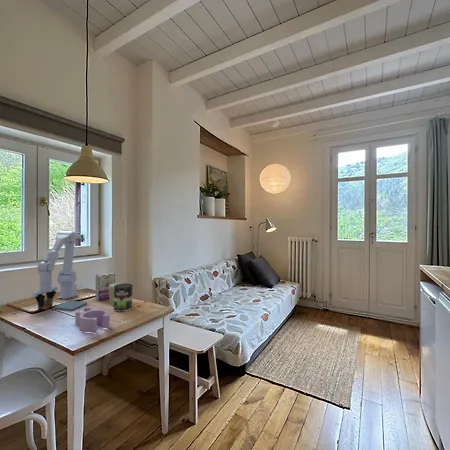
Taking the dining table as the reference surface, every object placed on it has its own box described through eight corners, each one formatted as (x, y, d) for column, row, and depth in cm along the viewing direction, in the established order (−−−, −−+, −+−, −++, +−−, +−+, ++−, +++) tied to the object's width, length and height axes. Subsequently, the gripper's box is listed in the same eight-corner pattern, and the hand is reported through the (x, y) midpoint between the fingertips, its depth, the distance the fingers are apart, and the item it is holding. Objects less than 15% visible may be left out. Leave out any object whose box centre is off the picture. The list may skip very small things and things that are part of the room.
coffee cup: (127, 303, 161) (127, 284, 161) (113, 307, 153) (114, 287, 153) (118, 300, 166) (119, 282, 166) (105, 304, 159) (105, 284, 158)
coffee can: (130, 311, 147) (131, 287, 147) (111, 312, 145) (112, 288, 145) (133, 305, 157) (134, 283, 157) (115, 306, 155) (116, 283, 155)
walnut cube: (45, 306, 151) (45, 297, 151) (52, 306, 150) (52, 298, 150) (37, 308, 146) (37, 300, 146) (45, 309, 145) (45, 301, 145)
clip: (68, 325, 127) (68, 311, 127) (92, 317, 137) (93, 305, 137) (88, 336, 116) (89, 321, 116) (114, 327, 126) (114, 313, 126)
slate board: (70, 302, 159) (70, 300, 159) (87, 304, 157) (87, 302, 157) (54, 309, 147) (54, 307, 147) (72, 311, 145) (72, 309, 145)
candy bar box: (111, 295, 175) (111, 272, 175) (115, 297, 172) (115, 273, 172) (94, 299, 166) (95, 274, 166) (98, 301, 163) (99, 276, 163)
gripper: (40, 286, 140) (39, 310, 141) (61, 279, 154) (61, 302, 155) (29, 284, 141) (29, 309, 142) (51, 279, 156) (51, 301, 156)
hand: (45, 305), depth 148 cm, fingers closed on walnut cube, 5 cm apart
